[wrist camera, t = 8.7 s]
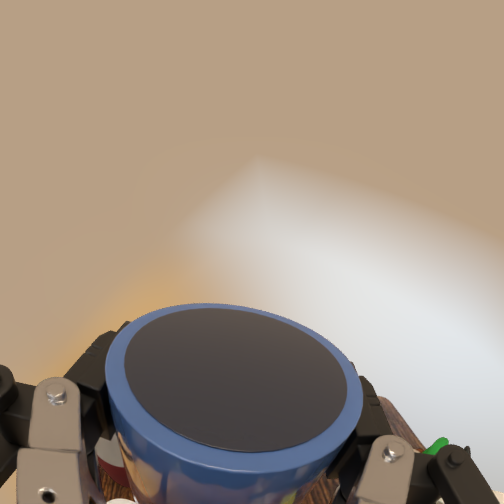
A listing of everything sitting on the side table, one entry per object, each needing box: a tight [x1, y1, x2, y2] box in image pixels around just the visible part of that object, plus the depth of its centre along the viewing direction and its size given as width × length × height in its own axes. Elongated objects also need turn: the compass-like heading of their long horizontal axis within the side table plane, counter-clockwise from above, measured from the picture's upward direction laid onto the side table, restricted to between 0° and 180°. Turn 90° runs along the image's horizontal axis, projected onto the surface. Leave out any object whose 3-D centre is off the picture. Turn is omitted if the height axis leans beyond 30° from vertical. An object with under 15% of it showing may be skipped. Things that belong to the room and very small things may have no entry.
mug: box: [96, 433, 130, 488], centre depth 29 cm, size 11×8×10 cm
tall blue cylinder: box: [105, 303, 363, 504], centre depth 9 cm, size 6×6×14 cm
